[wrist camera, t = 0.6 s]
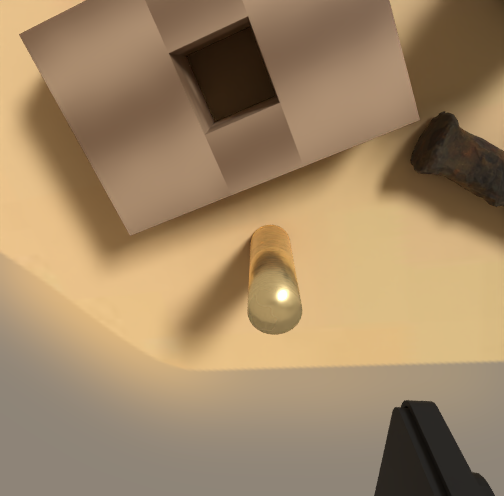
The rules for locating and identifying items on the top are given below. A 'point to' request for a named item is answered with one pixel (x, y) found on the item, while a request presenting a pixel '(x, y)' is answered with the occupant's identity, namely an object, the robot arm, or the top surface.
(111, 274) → the top surface
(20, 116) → the top surface
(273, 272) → the peg
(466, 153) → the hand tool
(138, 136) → the hole block
